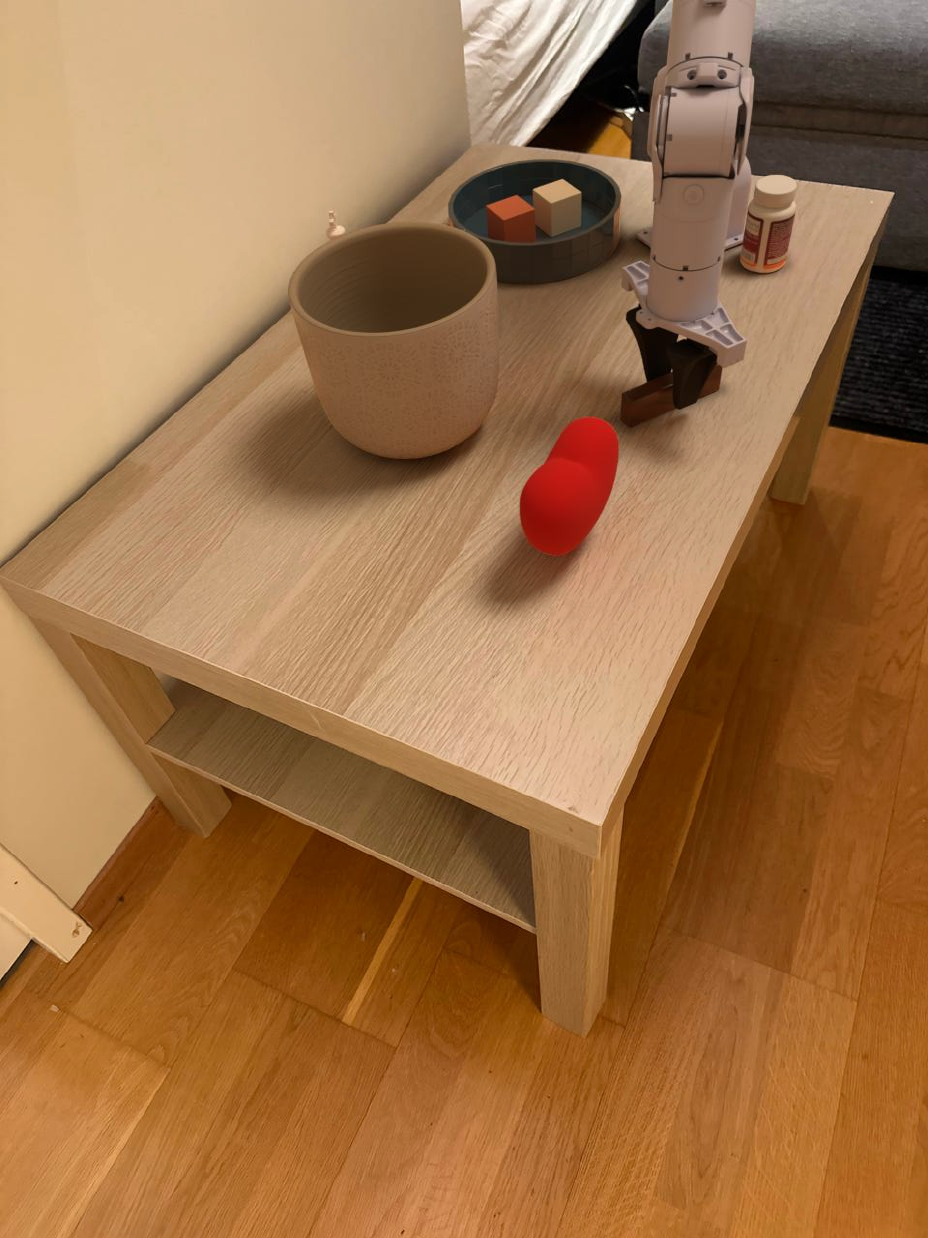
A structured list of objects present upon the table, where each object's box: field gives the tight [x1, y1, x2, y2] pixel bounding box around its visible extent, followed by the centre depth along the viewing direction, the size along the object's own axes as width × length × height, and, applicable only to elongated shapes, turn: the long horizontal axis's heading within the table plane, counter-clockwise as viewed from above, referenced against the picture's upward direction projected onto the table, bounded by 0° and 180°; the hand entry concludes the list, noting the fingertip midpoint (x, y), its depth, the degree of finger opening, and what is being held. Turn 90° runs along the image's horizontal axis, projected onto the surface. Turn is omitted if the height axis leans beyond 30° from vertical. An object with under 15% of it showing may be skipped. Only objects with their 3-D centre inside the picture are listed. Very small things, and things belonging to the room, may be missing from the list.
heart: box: [519, 416, 620, 557], centre depth 69 cm, size 12×5×10 cm, turn 151°
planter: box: [287, 221, 500, 460], centre depth 78 cm, size 17×17×15 cm
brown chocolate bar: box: [619, 364, 724, 429], centre depth 81 cm, size 10×2×3 cm, turn 118°
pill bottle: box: [739, 174, 798, 274], centre depth 93 cm, size 5×5×8 cm
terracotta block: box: [486, 195, 536, 243], centre depth 100 cm, size 4×4×4 cm
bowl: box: [447, 158, 623, 285], centre depth 101 cm, size 19×19×4 cm
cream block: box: [533, 179, 581, 237], centre depth 102 cm, size 4×4×4 cm
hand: (671, 391), depth 82 cm, fingers open, 4 cm apart
